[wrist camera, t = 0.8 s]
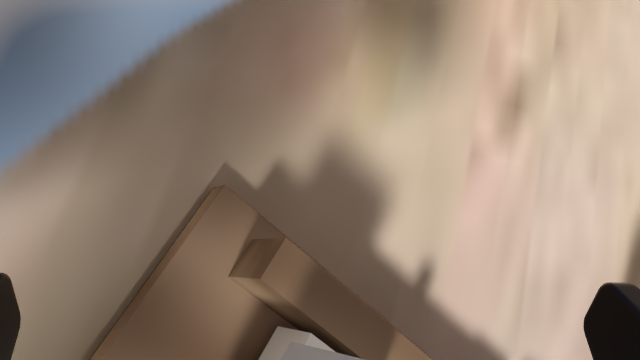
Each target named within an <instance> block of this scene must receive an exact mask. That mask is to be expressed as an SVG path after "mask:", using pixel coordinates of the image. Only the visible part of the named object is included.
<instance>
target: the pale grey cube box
mask: <svg viewBox="0 0 640 360" xmlns="http://www.w3.org/2000/svg"><path fill="white" fill-rule="evenodd" d="M258 360H365V359H361V358H357V357H352V356H348V355H344V354H340V353H336V352H335V351H334V350H332V349H331V348H330V347H329V346H327V345H326V344H325V343H323V342H322V341H321V340H319V339H318V338H317V337H315V336H314V335H313V334H312V333H308V332H303V331H299V330H294V329H289V328H284V327H279V326H278V327H277V328H276V330H275V332H274V333H273V335H272V337H271V339H270V340H269V342H268V344H267V346H266V347H265V349H264V351H263V352H262V354H261V356H260V358H259V359H258Z"/></svg>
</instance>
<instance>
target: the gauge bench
mask: <svg viewBox="0 0 640 360" xmlns="http://www.w3.org/2000/svg"><path fill="white" fill-rule="evenodd" d="M278 326H279V327H284V328H289V329H294V330H299V331H303V332H308V333H312V334H313V335H314V336H315V337H317V338H318V339H319V340H321V341H322V342H323V343H325V344H326V345H327V346H329V347H330V348H331V349H332V350H334V351H335V352H336V353H340V354H344V355H348V356H352V357H357V358H361V359H365V360H433V359H432V358H431V357H429V356H428V355H427V354H426V353H425V352H423V351H422V350H421V349H420V348H419V347H417V346H416V345H415V344H414V343H413V342H411V341H410V340H409V339H408V338H407V337H406V336H404V335H403V334H402V333H401V332H400V331H398V330H397V329H396V328H395V327H394V326H392V325H391V324H390V323H389V322H388V321H386V320H385V319H384V318H383V317H382V316H380V315H379V314H378V313H377V312H376V311H374V310H373V309H372V308H371V307H370V306H369V305H367V304H366V303H365V302H364V301H363V300H361V299H360V298H359V297H358V296H357V295H355V294H354V293H353V292H352V291H351V290H349V289H348V288H347V287H346V286H345V285H343V284H342V283H341V282H340V281H339V280H337V279H336V278H335V277H334V276H333V275H332V274H330V273H329V272H328V271H327V270H326V269H324V268H323V267H322V266H321V265H320V264H318V263H317V262H316V261H315V260H314V259H312V258H311V257H310V256H309V255H308V254H306V253H305V252H304V251H303V250H302V249H300V248H299V247H298V246H297V245H296V244H295V243H293V242H292V241H291V240H290V239H289V238H287V237H286V236H285V235H284V234H283V233H281V232H280V231H279V230H278V229H277V228H275V227H274V226H273V225H272V224H271V223H269V222H268V221H267V220H266V219H265V218H263V217H262V216H261V215H260V214H259V213H258V212H256V211H255V210H254V209H253V208H252V207H250V206H249V205H248V204H247V203H246V202H244V201H243V200H242V199H241V198H240V197H238V196H237V195H236V194H235V193H234V192H232V191H231V190H230V189H229V188H228V187H226V186H225V185H223V186H219V187H215V188H213V189H212V191H211V192H210V193H209V195H208V196H207V198H206V199H205V200H204V202H203V203H202V205H201V206H200V207H199V209H198V210H197V211H196V213H195V214H194V216H193V217H192V218H191V220H190V221H189V223H188V224H187V225H186V227H185V228H184V230H183V231H182V232H181V234H180V235H179V236H178V238H177V239H176V241H175V242H174V243H173V245H172V246H171V248H170V249H169V250H168V252H167V253H166V255H165V256H164V257H163V259H162V260H161V262H160V263H159V264H158V266H157V267H156V268H155V270H154V271H153V273H152V274H151V275H150V277H149V278H148V280H147V281H146V282H145V284H144V285H143V287H142V288H141V289H140V291H139V292H138V293H137V295H136V296H135V298H134V299H133V300H132V302H131V303H130V305H129V306H128V307H127V309H126V310H125V312H124V313H123V314H122V316H121V317H120V319H119V320H118V321H117V323H116V324H115V325H114V327H113V328H112V330H111V331H110V332H109V334H108V335H107V337H106V338H105V339H104V341H103V342H102V344H101V345H100V346H99V348H98V349H97V350H96V352H95V353H94V355H93V356H92V357H91V359H90V360H258V359H259V358H260V356H261V354H262V352H263V351H264V349H265V347H266V346H267V344H268V342H269V340H270V339H271V337H272V335H273V333H274V332H275V330H276V328H277V327H278Z"/></svg>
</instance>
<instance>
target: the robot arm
mask: <svg viewBox="0 0 640 360" xmlns="http://www.w3.org/2000/svg"><path fill="white" fill-rule="evenodd" d="M20 319H21V318H20V311H19V307H18V304H17V300H16V297H15V293H14V289H13V286H12V282H11V280H10V277H9V276H8V275H7V274H4V273H0V360H11V357H12V353H13V350H14V346H15V343H16V339H17V336H18V332H19V328H20ZM584 332H585V336H586V339H587V342H588V345H589V348H590V351H591V354H592V357H593V360H640V289H639V288H638V287H636V286H634V285H632V284H630V283H605V284H603V285H602V286H601V287H600V288H599V290H598V292H597V294H596V296H595V298H594V300H593V302H592V304H591V306H590V308H589V310H588V312H587V314H586V316H585V318H584Z"/></svg>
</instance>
